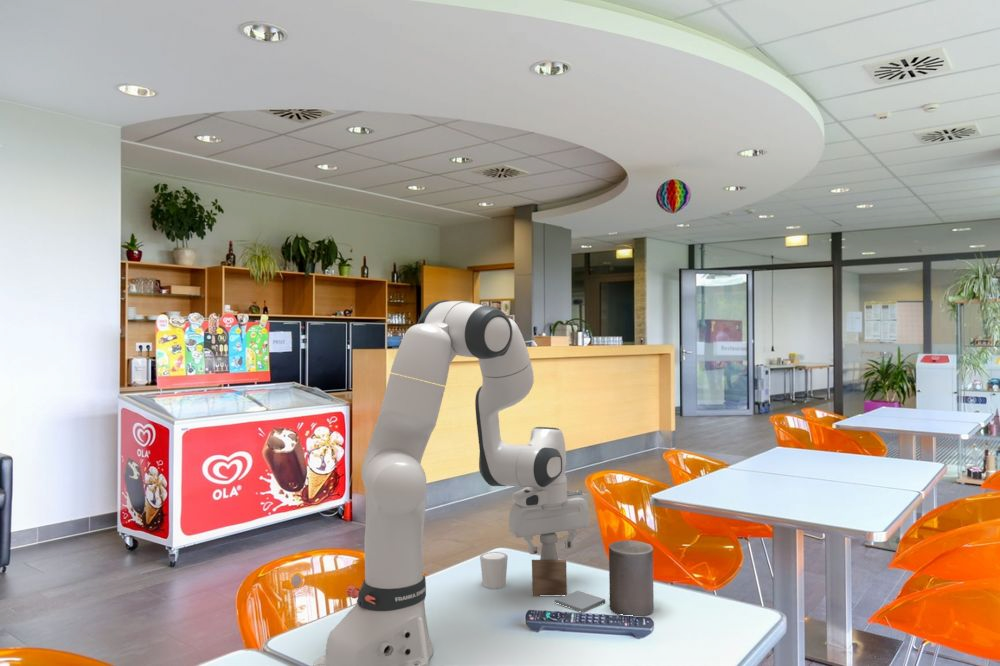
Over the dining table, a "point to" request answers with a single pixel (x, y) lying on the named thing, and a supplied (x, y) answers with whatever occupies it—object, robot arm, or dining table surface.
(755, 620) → the dining table surface
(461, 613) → the dining table surface
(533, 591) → the walnut box
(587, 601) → the slate mat
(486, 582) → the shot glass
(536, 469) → the robot arm
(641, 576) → the pillar candle
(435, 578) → the dining table surface
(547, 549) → the salt shaker
